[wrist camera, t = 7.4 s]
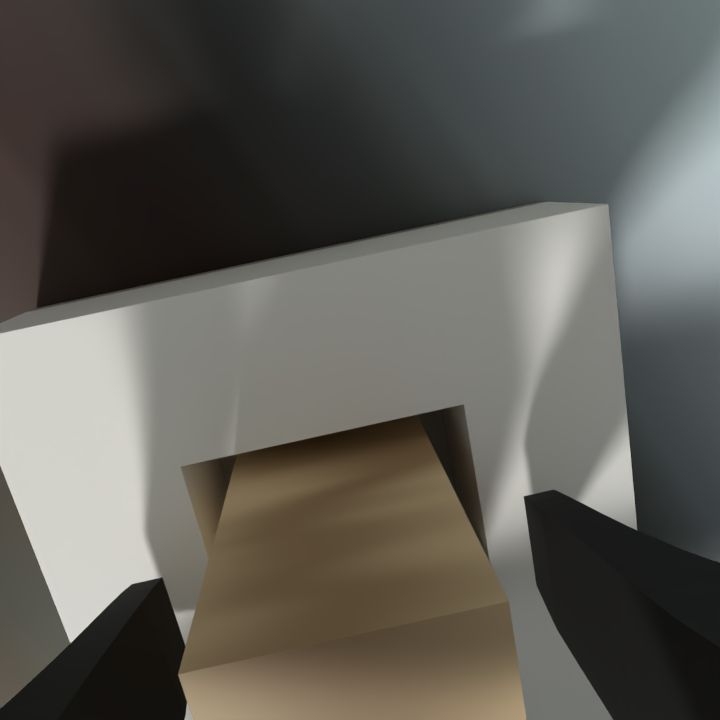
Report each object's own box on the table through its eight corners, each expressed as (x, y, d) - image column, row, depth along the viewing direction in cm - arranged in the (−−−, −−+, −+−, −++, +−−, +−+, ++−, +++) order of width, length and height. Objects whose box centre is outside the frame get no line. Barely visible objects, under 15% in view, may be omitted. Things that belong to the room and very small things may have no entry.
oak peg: (406, 393, 15) (509, 601, 7) (432, 535, 16) (545, 846, 8) (244, 427, 15) (178, 673, 7) (281, 568, 16) (257, 914, 8)
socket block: (539, 201, 15) (608, 204, 11) (589, 622, 18) (654, 722, 15) (35, 308, 14) (-48, 343, 11) (178, 717, 18) (148, 840, 14)
